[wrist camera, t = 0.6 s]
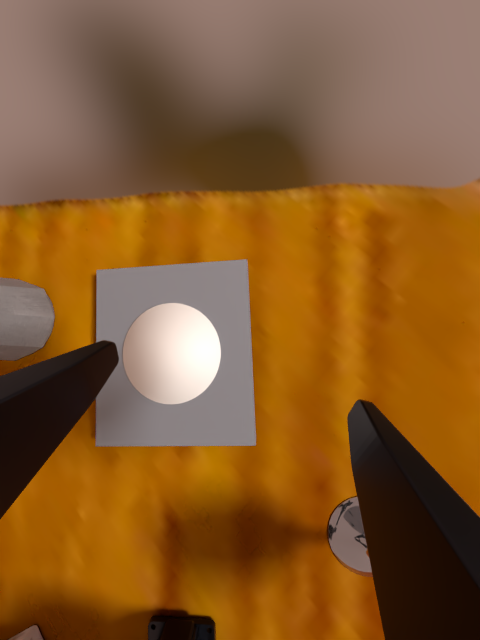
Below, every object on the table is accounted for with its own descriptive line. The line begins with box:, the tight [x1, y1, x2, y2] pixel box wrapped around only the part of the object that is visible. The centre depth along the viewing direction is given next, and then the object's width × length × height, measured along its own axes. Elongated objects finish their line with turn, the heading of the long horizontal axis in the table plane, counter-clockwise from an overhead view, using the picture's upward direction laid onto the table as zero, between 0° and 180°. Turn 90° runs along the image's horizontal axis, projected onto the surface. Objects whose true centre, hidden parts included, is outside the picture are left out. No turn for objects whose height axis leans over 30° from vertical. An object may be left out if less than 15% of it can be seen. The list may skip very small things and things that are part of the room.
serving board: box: [96, 259, 256, 446], centre depth 22 cm, size 18×16×2 cm
